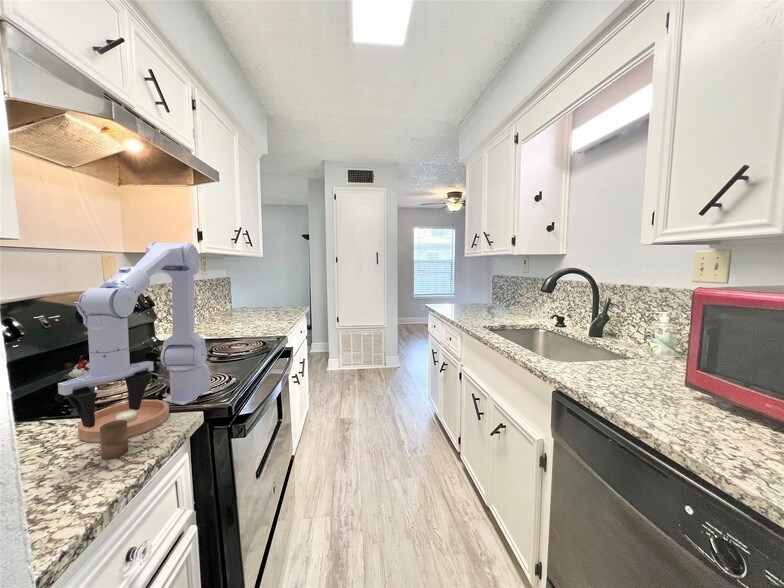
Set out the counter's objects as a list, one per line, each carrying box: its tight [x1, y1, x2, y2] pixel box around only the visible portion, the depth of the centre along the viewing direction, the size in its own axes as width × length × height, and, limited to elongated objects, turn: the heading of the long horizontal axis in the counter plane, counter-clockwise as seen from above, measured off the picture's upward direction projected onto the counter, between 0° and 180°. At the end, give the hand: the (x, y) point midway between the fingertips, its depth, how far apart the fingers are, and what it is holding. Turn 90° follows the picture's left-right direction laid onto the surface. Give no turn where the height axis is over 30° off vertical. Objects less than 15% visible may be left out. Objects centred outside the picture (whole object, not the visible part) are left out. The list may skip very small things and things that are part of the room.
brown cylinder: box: [100, 420, 129, 461], centre depth 61 cm, size 4×4×6 cm
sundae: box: [63, 355, 99, 417], centre depth 78 cm, size 7×7×15 cm
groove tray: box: [77, 399, 170, 444], centre depth 73 cm, size 16×16×2 cm
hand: (113, 416), depth 61 cm, fingers open, 7 cm apart
